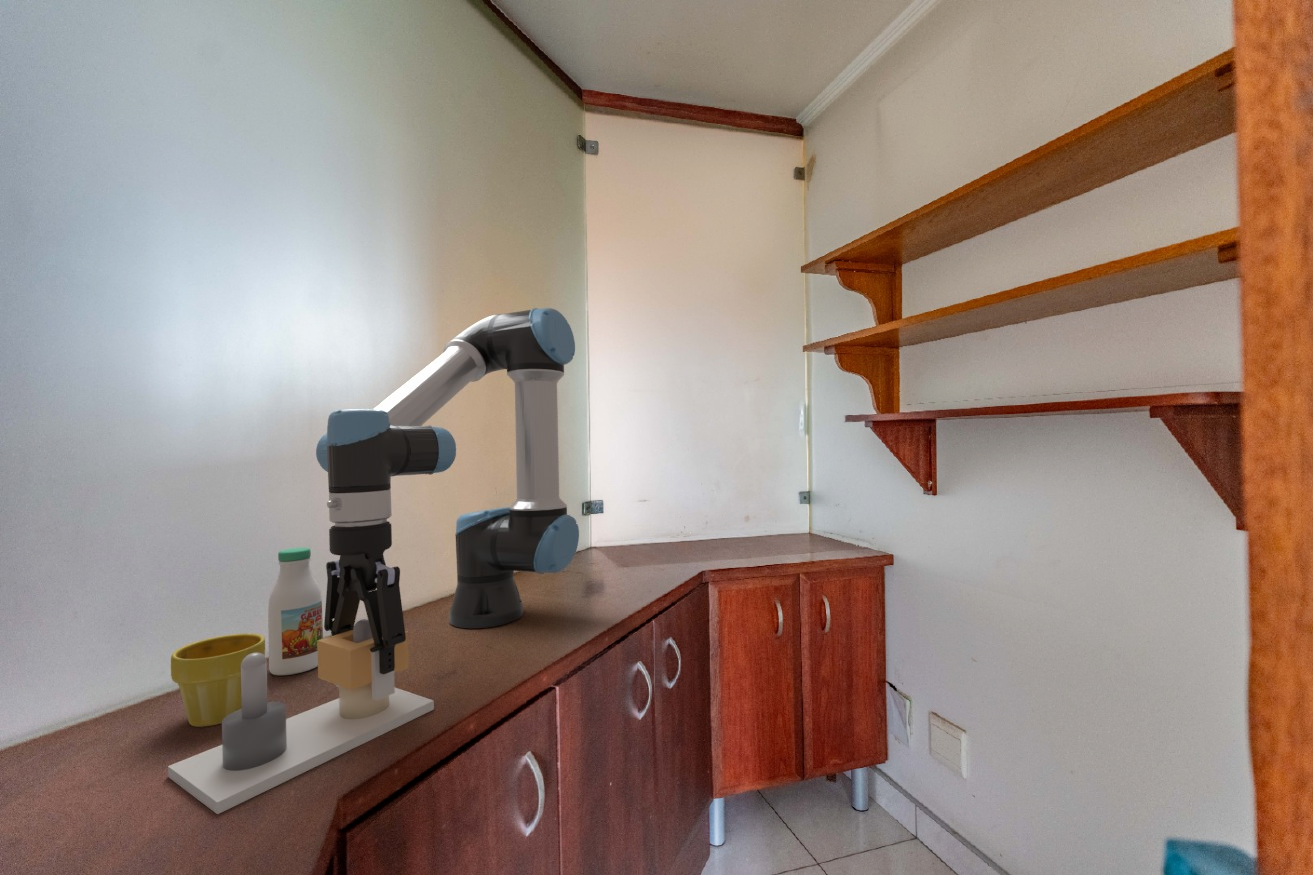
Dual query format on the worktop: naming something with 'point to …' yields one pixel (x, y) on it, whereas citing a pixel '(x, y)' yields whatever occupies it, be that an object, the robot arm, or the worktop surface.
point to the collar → (353, 660)
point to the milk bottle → (294, 615)
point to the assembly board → (287, 736)
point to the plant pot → (213, 675)
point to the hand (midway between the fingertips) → (364, 689)
